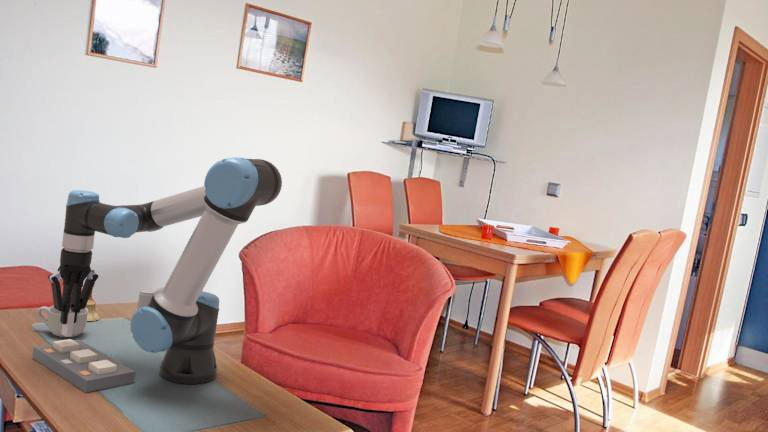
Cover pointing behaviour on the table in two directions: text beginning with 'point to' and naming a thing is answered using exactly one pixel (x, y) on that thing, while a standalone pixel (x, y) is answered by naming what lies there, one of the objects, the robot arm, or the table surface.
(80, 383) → the key board
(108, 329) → the table surface
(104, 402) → the table surface
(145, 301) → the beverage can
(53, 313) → the teacup
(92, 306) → the hand bell
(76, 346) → the button
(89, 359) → the button middle
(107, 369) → the button
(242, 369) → the table surface
